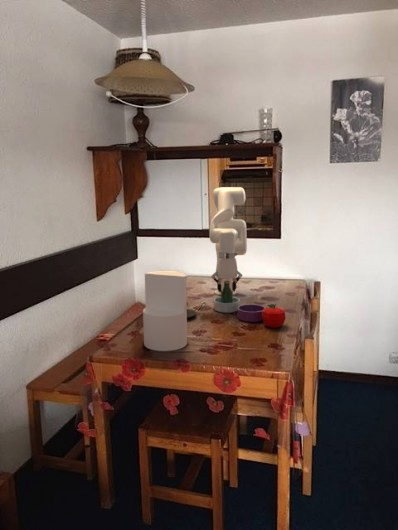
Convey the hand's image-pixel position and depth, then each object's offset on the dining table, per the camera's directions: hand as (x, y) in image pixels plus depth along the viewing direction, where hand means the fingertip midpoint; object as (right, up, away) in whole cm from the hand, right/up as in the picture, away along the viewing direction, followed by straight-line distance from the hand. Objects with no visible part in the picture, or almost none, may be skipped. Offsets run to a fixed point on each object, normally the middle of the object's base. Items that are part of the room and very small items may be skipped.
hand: (226, 290), depth 227 cm
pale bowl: (0, -10, +2) cm, 10 cm away
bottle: (0, -9, +2) cm, 9 cm away
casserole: (-28, -12, -9) cm, 32 cm away
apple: (+19, -14, -24) cm, 34 cm away
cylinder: (-27, -19, -44) cm, 55 cm away
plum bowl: (+11, -12, -13) cm, 21 cm away
